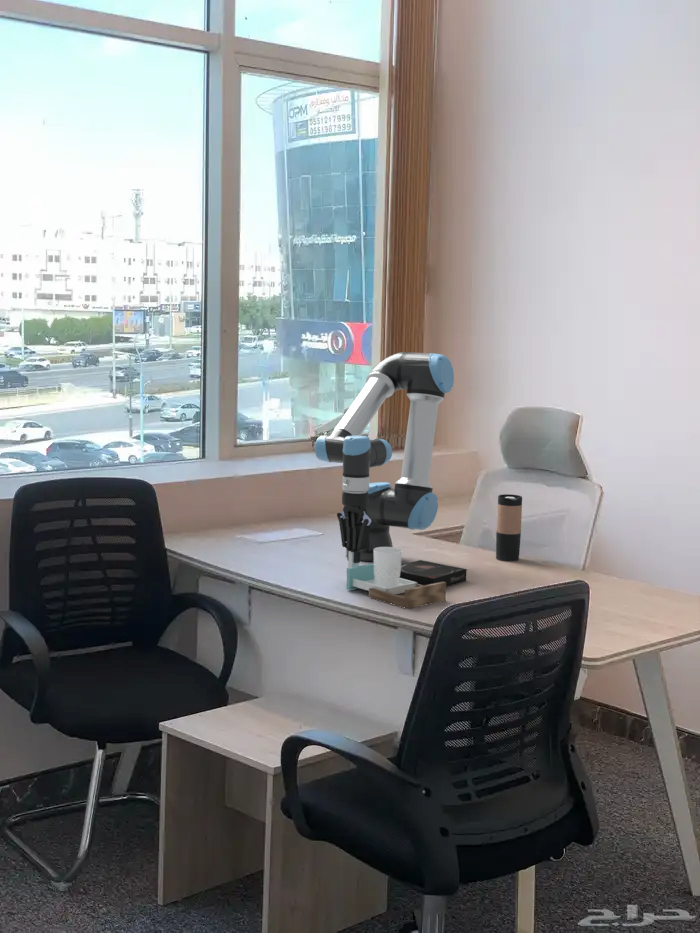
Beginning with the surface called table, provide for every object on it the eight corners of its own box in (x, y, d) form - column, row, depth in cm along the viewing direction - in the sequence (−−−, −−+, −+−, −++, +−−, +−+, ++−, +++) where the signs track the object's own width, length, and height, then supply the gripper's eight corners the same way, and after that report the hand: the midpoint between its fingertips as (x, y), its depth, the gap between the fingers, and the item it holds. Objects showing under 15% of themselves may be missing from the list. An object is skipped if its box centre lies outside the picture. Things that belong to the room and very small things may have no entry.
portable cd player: (417, 572, 347) (418, 559, 347) (466, 582, 337) (466, 569, 336) (384, 582, 334) (384, 568, 334) (433, 592, 324) (433, 578, 323)
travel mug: (501, 555, 372) (503, 493, 369) (523, 558, 368) (526, 496, 366) (491, 559, 366) (493, 496, 363) (513, 562, 362) (516, 499, 359)
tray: (383, 582, 331) (383, 561, 330) (420, 592, 320) (421, 571, 319) (346, 589, 322) (347, 568, 321) (383, 600, 311) (384, 578, 310)
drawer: (406, 589, 324) (407, 572, 324) (445, 600, 314) (446, 582, 313) (368, 597, 315) (369, 579, 314) (407, 608, 304) (408, 590, 303)
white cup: (368, 582, 322) (369, 547, 321) (394, 581, 325) (395, 546, 324) (378, 589, 315) (379, 553, 314) (405, 587, 318) (406, 551, 316)
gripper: (330, 489, 329) (328, 571, 332) (361, 495, 319) (359, 579, 322) (350, 486, 334) (347, 567, 337) (381, 493, 324) (378, 576, 327)
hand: (353, 573), depth 330 cm, fingers closed
